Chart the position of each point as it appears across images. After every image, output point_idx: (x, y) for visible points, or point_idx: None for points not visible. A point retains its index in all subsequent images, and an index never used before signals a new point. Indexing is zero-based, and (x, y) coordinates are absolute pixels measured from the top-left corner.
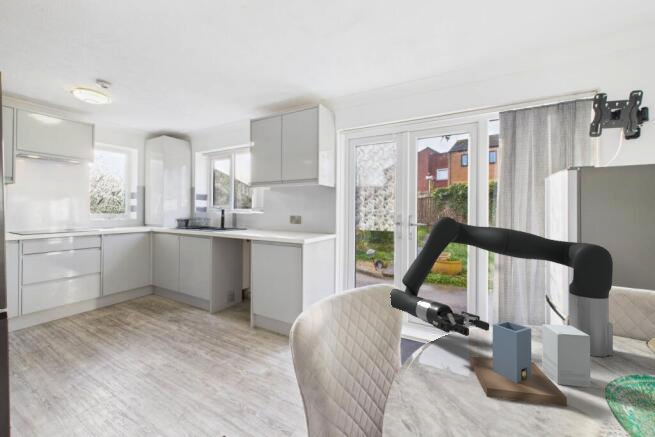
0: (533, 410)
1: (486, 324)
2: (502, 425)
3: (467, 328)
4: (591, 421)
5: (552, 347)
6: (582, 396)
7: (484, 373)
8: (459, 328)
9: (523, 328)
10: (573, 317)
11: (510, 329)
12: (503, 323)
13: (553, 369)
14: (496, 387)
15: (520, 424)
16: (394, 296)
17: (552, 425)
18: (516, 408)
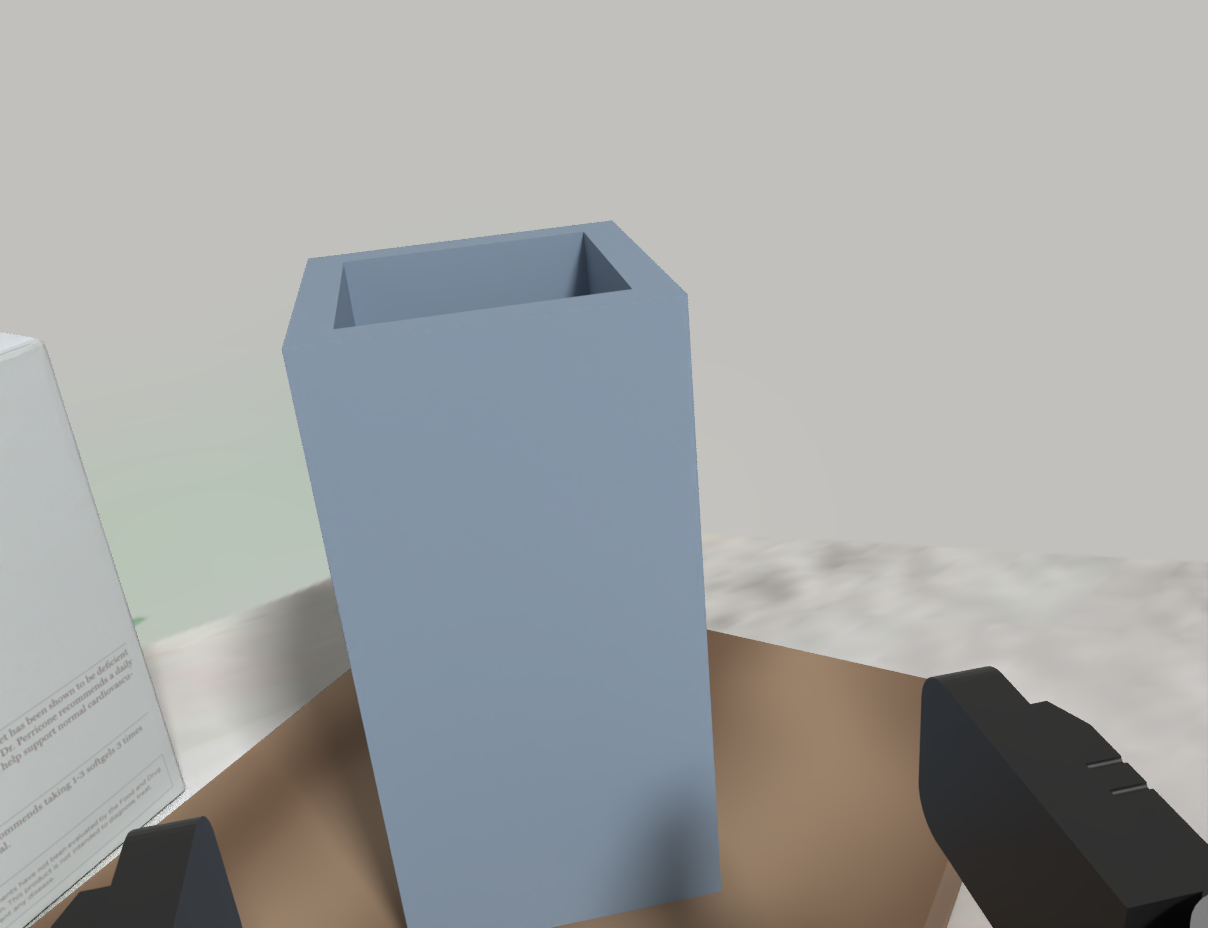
0: (738, 632)
1: (206, 850)
2: (1057, 578)
3: (963, 673)
4: None
5: (25, 552)
6: (230, 679)
7: (867, 871)
8: (1141, 788)
9: (345, 293)
10: None
11: (595, 244)
12: (459, 318)
13: (108, 743)
14: (905, 689)
15: (932, 574)
16: None
17: (744, 558)
18: (844, 653)
